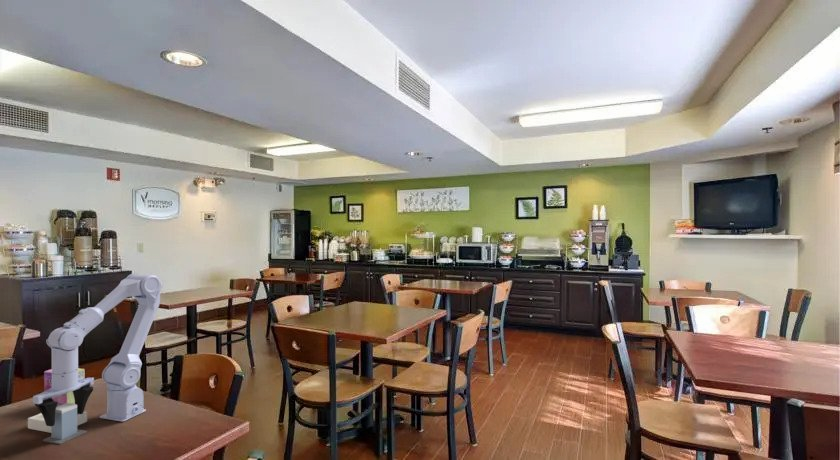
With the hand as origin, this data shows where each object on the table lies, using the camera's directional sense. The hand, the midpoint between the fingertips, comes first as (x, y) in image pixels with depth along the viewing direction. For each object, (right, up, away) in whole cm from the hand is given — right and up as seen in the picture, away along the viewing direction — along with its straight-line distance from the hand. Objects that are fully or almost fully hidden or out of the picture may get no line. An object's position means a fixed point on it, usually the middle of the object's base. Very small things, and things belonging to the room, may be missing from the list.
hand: (65, 419), depth 119 cm
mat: (0, -5, 0) cm, 5 cm away
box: (-17, -5, +20) cm, 27 cm away
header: (-8, -5, +7) cm, 12 cm away
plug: (0, -5, 0) cm, 5 cm away
